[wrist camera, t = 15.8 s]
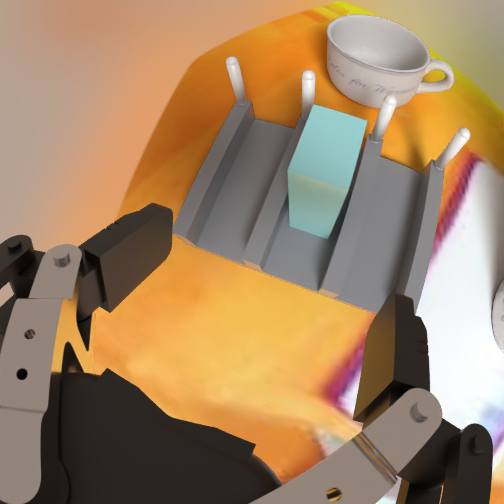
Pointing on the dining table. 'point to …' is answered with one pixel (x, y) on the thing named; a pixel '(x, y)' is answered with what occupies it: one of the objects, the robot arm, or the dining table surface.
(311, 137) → the teal rectangular block
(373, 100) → the teacup
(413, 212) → the dish rack
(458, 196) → the dining table surface
